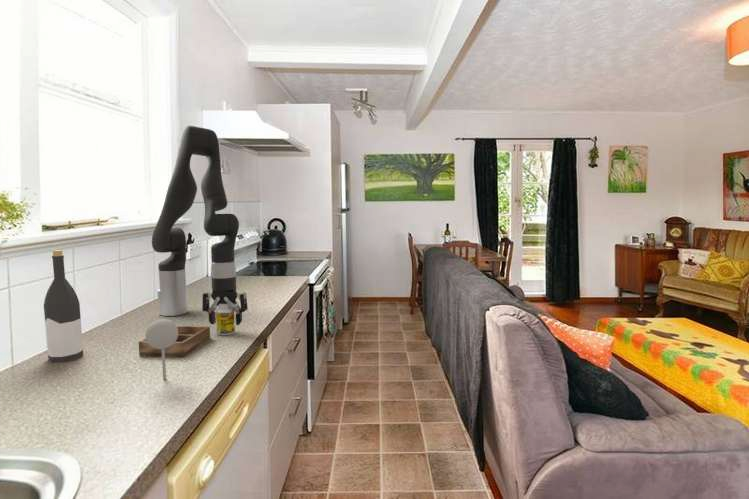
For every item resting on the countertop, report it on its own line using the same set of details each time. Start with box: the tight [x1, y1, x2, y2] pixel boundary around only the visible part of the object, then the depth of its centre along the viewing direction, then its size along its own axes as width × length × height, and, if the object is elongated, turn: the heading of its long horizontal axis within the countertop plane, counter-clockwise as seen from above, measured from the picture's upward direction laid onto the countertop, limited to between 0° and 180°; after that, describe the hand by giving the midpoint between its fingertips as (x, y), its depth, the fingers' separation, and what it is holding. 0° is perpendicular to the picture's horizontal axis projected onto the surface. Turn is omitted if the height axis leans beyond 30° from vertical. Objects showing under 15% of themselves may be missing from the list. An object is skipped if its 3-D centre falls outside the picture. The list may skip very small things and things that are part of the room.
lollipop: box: [145, 318, 178, 381], centre depth 104 cm, size 7×7×15 cm
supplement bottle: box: [215, 304, 236, 336], centre depth 141 cm, size 6×6×10 cm
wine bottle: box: [43, 249, 84, 363], centre depth 118 cm, size 8×8×30 cm
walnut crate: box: [138, 325, 211, 358], centre depth 128 cm, size 13×16×4 cm
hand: (225, 324), depth 141 cm, fingers open, 8 cm apart
